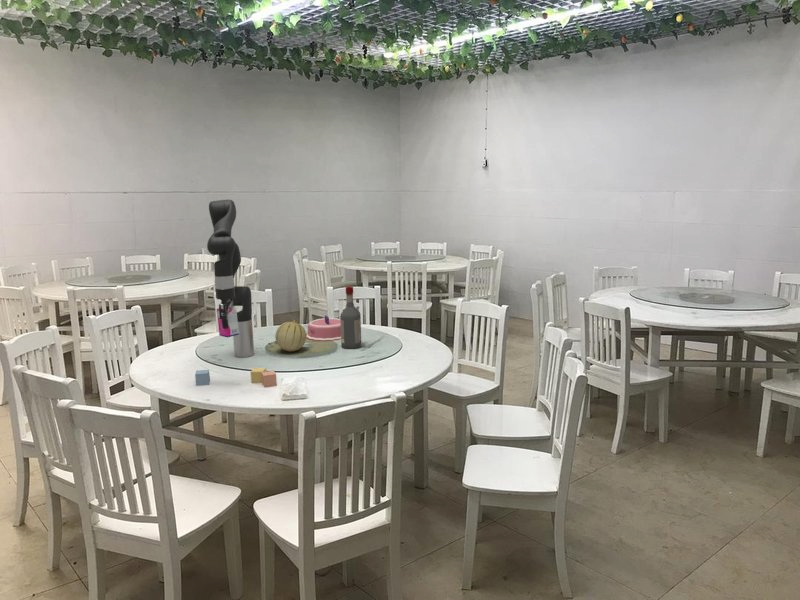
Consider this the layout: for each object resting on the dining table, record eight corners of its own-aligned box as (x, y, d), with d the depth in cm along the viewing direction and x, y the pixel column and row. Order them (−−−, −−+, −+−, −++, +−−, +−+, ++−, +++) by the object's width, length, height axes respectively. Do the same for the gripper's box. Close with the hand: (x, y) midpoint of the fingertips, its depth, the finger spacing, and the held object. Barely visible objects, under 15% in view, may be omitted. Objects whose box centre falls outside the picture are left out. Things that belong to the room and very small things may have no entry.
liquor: (362, 344, 303) (360, 285, 297) (359, 349, 294) (357, 288, 288) (344, 344, 304) (341, 285, 298) (340, 349, 295) (338, 288, 289)
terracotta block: (262, 383, 247) (261, 372, 246) (274, 382, 249) (273, 370, 248) (264, 387, 242) (263, 375, 241) (276, 385, 244) (276, 374, 243)
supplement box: (230, 332, 250) (228, 305, 247) (239, 334, 246) (237, 307, 244) (218, 335, 245) (216, 308, 243) (227, 337, 242) (224, 310, 239)
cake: (300, 332, 330) (299, 313, 328) (345, 328, 338) (344, 309, 336) (308, 343, 307) (307, 323, 305) (356, 338, 315) (355, 318, 313)
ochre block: (255, 379, 253) (254, 367, 252) (266, 379, 252) (266, 367, 251) (251, 383, 248) (250, 371, 247) (263, 383, 247) (262, 371, 246)
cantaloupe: (271, 354, 288) (269, 324, 285) (284, 346, 302) (282, 317, 299) (299, 355, 285) (298, 325, 282) (311, 347, 299) (310, 318, 296)
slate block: (197, 382, 251) (196, 370, 250) (209, 380, 252) (208, 369, 251) (196, 385, 246) (195, 374, 245) (208, 384, 247) (207, 373, 246)
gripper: (219, 283, 249) (222, 322, 252) (210, 290, 235) (214, 330, 238) (238, 283, 249) (240, 321, 252) (230, 289, 235) (233, 329, 238)
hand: (227, 325), depth 245 cm, fingers closed on supplement box, 8 cm apart
